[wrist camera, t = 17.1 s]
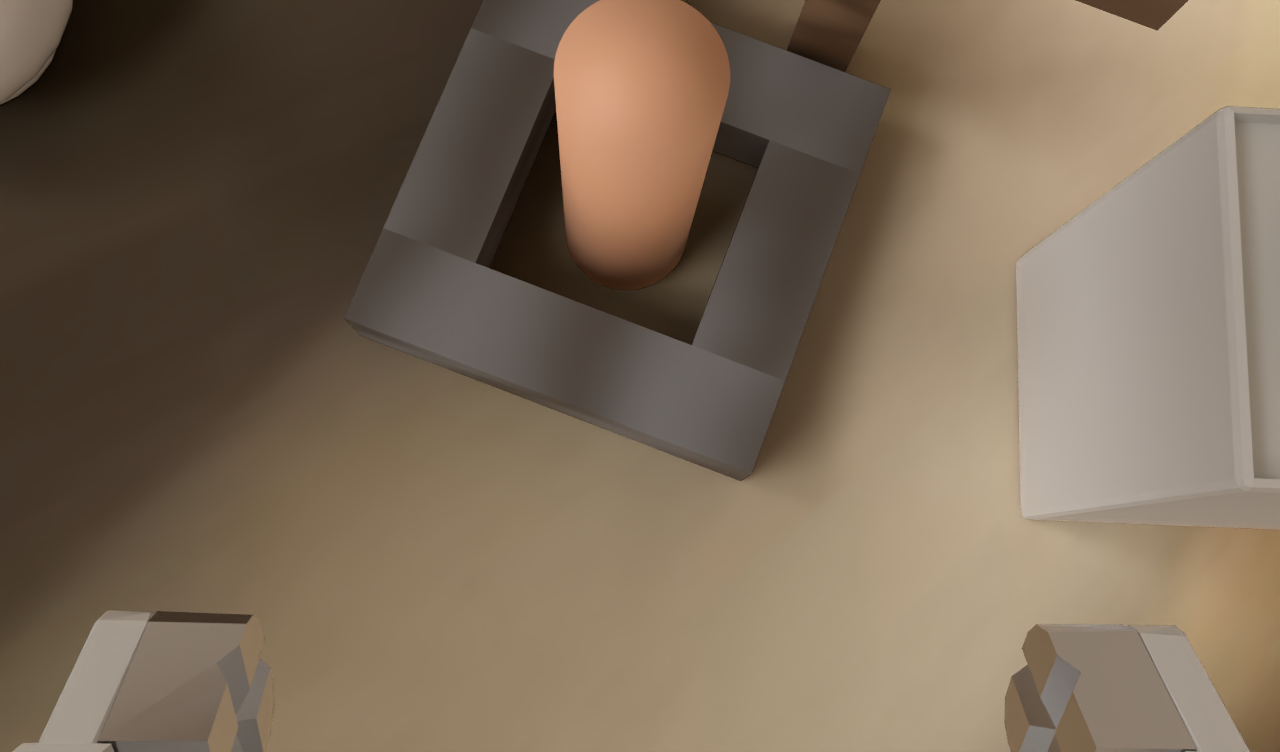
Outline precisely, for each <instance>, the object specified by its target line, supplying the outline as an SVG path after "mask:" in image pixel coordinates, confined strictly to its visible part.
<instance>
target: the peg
mask: <svg viewBox="0 0 1280 752" xmlns="http://www.w3.org/2000/svg"><path fill="white" fill-rule="evenodd" d="M554 87H555V100H556V113H557V126H558V139H559V152H560V165H561V178H562V191H563V204H564V217H565V230H566V240H567V245H568V248H569V251H570V254H571V256H572V257H573V259H574V261H575V263H576V264H577V265H578V267H579V268H580V269H581V270H582V271H583V272H584V273H585V274H586V275H587V276H589V277H590V278H591V279H593V280H594V281H596V282H598V283H600V284H602V285H604V286H607V287H610V288H615V289H621V290H632V289H639V288H644V287H647V286H650V285H652V284H654V283H656V282H658V281H660V280H661V279H663V278H664V277H666V276H667V275H668V274H669V273H670V272H671V271H672V270H673V269H674V268H675V266H676V265H677V264H678V262H679V260H680V259H681V257H682V254H683V252H684V249H685V246H686V243H687V239H688V235H689V232H690V228H691V225H692V221H693V218H694V214H695V211H696V207H697V203H698V200H699V196H700V193H701V189H702V186H703V182H704V179H705V175H706V172H707V168H708V164H709V161H710V157H711V154H712V150H713V147H714V143H715V140H716V136H717V132H718V129H719V125H720V122H721V118H722V115H723V111H724V108H725V104H726V101H727V97H728V93H729V87H730V65H729V59H728V55H727V51H726V49H725V46H724V44H723V41H722V39H721V38H720V36H719V34H718V32H717V31H716V29H715V28H714V27H713V26H712V24H711V23H710V22H709V21H708V20H707V19H706V18H705V17H704V16H703V15H702V14H701V13H700V12H699V11H697V10H696V9H695V8H693V7H692V6H690V5H688V4H687V3H685V2H683V1H681V0H600V1H598V2H596V3H594V4H593V5H591V6H590V7H588V8H586V9H585V10H584V11H583V12H582V13H581V14H579V15H578V16H577V17H576V18H575V20H574V21H573V22H572V23H571V24H570V25H569V27H568V28H567V30H566V31H565V33H564V35H563V37H562V39H561V41H560V43H559V46H558V49H557V52H556V56H555V61H554Z"/></svg>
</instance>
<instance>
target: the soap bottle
mask: <svg viewBox="0 0 1280 752" xmlns="http://www.w3.org/2000/svg"><path fill="white" fill-rule="evenodd" d="M1016 290H1017V342H1018V393H1019V444H1020V495H1021V513H1022V516H1023V517H1024V518H1026V519H1028V520H1048V521H1073V522H1098V523H1123V524H1148V525H1173V526H1197V527H1222V528H1247V529H1272V530H1280V109H1271V108H1252V107H1233V106H1228V107H1224V108H1221V109H1219V110H1218V111H1216V112H1215V113H1214V114H1212V115H1211V116H1210V117H1208V118H1207V119H1205V120H1204V121H1203V122H1201V123H1200V124H1199V125H1197V126H1196V127H1195V128H1193V129H1192V130H1191V131H1189V132H1188V133H1187V134H1185V135H1184V136H1183V137H1181V138H1180V139H1179V140H1177V141H1176V142H1175V143H1173V144H1172V145H1171V146H1169V147H1168V148H1167V149H1165V150H1164V151H1162V152H1161V153H1160V154H1158V155H1157V156H1156V157H1154V158H1153V159H1152V160H1150V161H1149V162H1148V163H1146V164H1145V165H1144V166H1142V167H1141V168H1140V169H1138V170H1137V171H1136V172H1134V173H1133V174H1132V175H1130V176H1129V177H1128V178H1126V179H1125V180H1124V181H1122V182H1121V183H1119V184H1118V185H1117V186H1115V187H1114V188H1113V189H1111V190H1110V191H1109V192H1107V193H1106V194H1105V195H1103V196H1102V197H1101V198H1099V199H1098V200H1097V201H1095V202H1094V203H1093V204H1091V205H1090V206H1089V207H1087V208H1086V209H1085V210H1083V211H1082V212H1081V213H1079V214H1078V215H1076V216H1075V217H1074V218H1072V219H1071V220H1070V221H1068V222H1067V223H1066V224H1064V225H1063V226H1062V227H1060V228H1059V229H1058V230H1056V231H1055V232H1054V233H1052V234H1051V235H1050V236H1048V237H1047V238H1046V239H1044V240H1043V241H1042V242H1040V243H1039V244H1037V245H1036V246H1035V247H1033V248H1032V249H1031V250H1029V251H1028V252H1027V253H1025V254H1024V255H1023V256H1021V257H1020V258H1019V259H1018V260H1017V263H1016Z"/></svg>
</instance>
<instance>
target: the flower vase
mask: <svg viewBox="0 0 1280 752" xmlns="http://www.w3.org/2000/svg"><path fill="white" fill-rule="evenodd" d="M72 4H73V0H0V105H1V104H3V103H5V102H7V101H9V100H11V99H13V98H15V97H17V96H19V95H20V94H21V93H23V92H24V91H25V90H26V89H28V88H29V87H30V86H31V85H33V84H34V83H35V82H36V81H37V80H38V79H39V78H40V76H41V75H42V74H43V72H44V71H45V70H46V68H47V67H48V66H49V64H50V63H51V62H52V60H53V57H54V55H55V52H56V49H57V47H58V45H59V43H60V40H61V38H62V35H63V33H64V30H65V28H66V25H67V23H68V20H69V18H70V15H71V13H72Z"/></svg>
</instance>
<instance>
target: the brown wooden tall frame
mask: <svg viewBox="0 0 1280 752" xmlns="http://www.w3.org/2000/svg"><path fill="white" fill-rule="evenodd" d="M598 1H600V0H483V2H482V4H481V6H480V9H479V11H478V13H477V15H476V18H475V20H474V22H473V25H472V27H471V29H470V31H469V34H468V36H467V38H466V41H465V43H464V45H463V47H462V50H461V52H460V54H459V57H458V59H457V61H456V63H455V66H454V68H453V70H452V72H451V75H450V77H449V79H448V82H447V84H446V86H445V88H444V91H443V93H442V95H441V98H440V100H439V102H438V104H437V107H436V109H435V111H434V113H433V116H432V118H431V120H430V123H429V125H428V127H427V129H426V132H425V134H424V136H423V139H422V141H421V143H420V145H419V148H418V150H417V152H416V154H415V157H414V159H413V161H412V164H411V166H410V168H409V170H408V173H407V175H406V177H405V180H404V182H403V184H402V186H401V189H400V191H399V193H398V195H397V198H396V200H395V202H394V205H393V207H392V209H391V211H390V214H389V216H388V218H387V221H386V223H385V225H384V227H383V230H382V232H381V234H380V236H379V239H378V241H377V243H376V246H375V248H374V250H373V252H372V255H371V257H370V259H369V262H368V264H367V266H366V268H365V271H364V273H363V275H362V278H361V280H360V282H359V284H358V287H357V289H356V291H355V293H354V296H353V298H352V300H351V303H350V305H349V307H348V309H347V312H346V314H345V316H344V319H345V320H346V321H347V322H348V323H349V324H350V325H351V326H352V327H353V328H354V329H355V330H356V331H357V332H358V333H359V334H360V335H361V336H363V337H366V338H369V339H371V340H374V341H376V342H379V343H382V344H384V345H387V346H390V347H392V348H395V349H397V350H400V351H403V352H405V353H408V354H410V355H413V356H416V357H418V358H421V359H424V360H426V361H429V362H431V363H434V364H437V365H439V366H442V367H444V368H447V369H450V370H452V371H455V372H457V373H460V374H463V375H465V376H468V377H471V378H473V379H476V380H478V381H481V382H484V383H486V384H489V385H491V386H494V387H497V388H499V389H502V390H505V391H507V392H510V393H512V394H515V395H518V396H520V397H523V398H525V399H528V400H531V401H533V402H536V403H538V404H541V405H544V406H546V407H549V408H552V409H554V410H557V411H559V412H562V413H565V414H567V415H570V416H572V417H575V418H578V419H580V420H583V421H586V422H588V423H591V424H593V425H596V426H599V427H601V428H604V429H606V430H609V431H612V432H614V433H617V434H619V435H622V436H625V437H627V438H630V439H633V440H635V441H638V442H640V443H643V444H646V445H648V446H651V447H653V448H656V449H659V450H661V451H664V452H667V453H669V454H672V455H674V456H677V457H680V458H682V459H685V460H687V461H690V462H693V463H695V464H698V465H700V466H703V467H706V468H708V469H711V470H714V471H716V472H719V473H721V474H724V475H727V476H729V477H732V478H734V479H737V480H740V481H741V480H743V479H745V478H746V477H748V476H749V475H751V474H752V471H753V469H754V466H755V463H756V460H757V457H758V455H759V452H760V449H761V446H762V444H763V441H764V438H765V435H766V433H767V430H768V427H769V424H770V422H771V419H772V416H773V413H774V410H775V408H776V405H777V402H778V399H779V397H780V394H781V391H782V388H783V386H784V383H785V380H786V377H787V375H788V372H789V369H790V366H791V364H792V361H793V358H794V355H795V352H796V350H797V347H798V344H799V341H800V339H801V336H802V333H803V330H804V328H805V325H806V322H807V319H808V317H809V314H810V311H811V308H812V305H813V303H814V300H815V297H816V294H817V292H818V289H819V286H820V283H821V281H822V278H823V275H824V272H825V270H826V267H827V264H828V261H829V258H830V256H831V253H832V250H833V247H834V245H835V242H836V239H837V236H838V234H839V231H840V228H841V225H842V223H843V220H844V217H845V214H846V211H847V209H848V206H849V203H850V200H851V198H852V195H853V192H854V189H855V187H856V184H857V181H858V178H859V176H860V173H861V170H862V167H863V165H864V162H865V159H866V156H867V153H868V151H869V148H870V145H871V142H872V140H873V137H874V134H875V131H876V129H877V126H878V123H879V120H880V118H881V115H882V112H883V109H884V106H885V104H886V101H887V98H888V95H889V93H890V90H891V89H888V88H885V87H883V86H880V85H877V84H875V83H872V82H869V81H867V80H864V79H861V78H859V77H856V76H853V75H851V74H848V73H845V70H846V68H847V66H848V64H849V62H850V60H851V58H852V56H853V54H854V52H855V50H856V48H857V46H858V44H859V42H860V40H861V38H862V36H863V34H864V32H865V30H866V28H867V26H868V24H869V22H870V20H871V18H872V16H873V14H874V12H875V10H876V8H877V6H878V4H879V2H880V0H805V3H804V6H803V8H802V11H801V14H800V17H799V19H798V22H797V25H796V27H795V30H794V33H793V35H792V38H791V41H790V44H789V46H788V49H787V51H786V50H784V49H781V48H778V47H776V46H773V45H770V44H767V43H765V42H762V41H759V40H757V39H754V38H751V37H749V36H746V35H743V34H741V33H738V32H735V31H733V30H730V29H727V28H725V27H722V26H719V25H717V24H714V23H711V22H710V23H711V24H712V26H713V27H714V28H715V29H716V31H717V32H718V34H719V36H720V38H721V39H722V41H723V44H724V46H725V49H726V51H727V55H728V59H729V65H730V87H729V93H728V97H727V101H726V104H725V108H724V111H723V115H722V118H721V122H720V125H719V129H718V132H717V136H716V140H715V143H714V147H713V150H712V151H715V152H717V153H720V154H723V155H725V156H728V157H731V158H733V159H736V160H739V161H741V162H744V163H746V164H749V165H752V166H754V167H757V168H758V170H757V173H756V175H755V178H754V181H753V183H752V186H751V189H750V191H749V194H748V197H747V199H746V202H745V204H744V207H743V210H742V212H741V215H740V218H739V220H738V223H737V226H736V228H735V231H734V233H733V236H732V239H731V241H730V244H729V247H728V249H727V252H726V255H725V257H724V260H723V262H722V265H721V268H720V270H719V273H718V276H717V278H716V281H715V284H714V286H713V289H712V291H711V294H710V297H709V299H708V302H707V305H706V307H705V310H704V313H703V315H702V318H701V320H700V323H699V326H698V328H697V331H696V334H695V336H694V339H693V342H692V344H691V345H690V344H687V343H684V342H682V341H679V340H677V339H674V338H671V337H669V336H666V335H663V334H661V333H658V332H655V331H653V330H650V329H648V328H645V327H642V326H640V325H637V324H634V323H632V322H629V321H627V320H624V319H621V318H619V317H616V316H613V315H611V314H608V313H605V312H603V311H600V310H598V309H595V308H592V307H590V306H587V305H584V304H582V303H579V302H577V301H574V300H571V299H569V298H566V297H563V296H561V295H558V294H556V293H553V292H550V291H548V290H545V289H542V288H540V287H537V286H534V285H532V284H529V283H527V282H524V281H521V280H519V279H516V278H513V277H511V276H508V275H506V274H503V273H500V272H498V271H495V270H492V269H490V266H491V264H492V261H493V259H494V256H495V254H496V252H497V249H498V247H499V244H500V242H501V240H502V237H503V235H504V232H505V230H506V228H507V225H508V223H509V221H510V218H511V216H512V213H513V211H514V209H515V206H516V204H517V201H518V199H519V197H520V194H521V192H522V189H523V187H524V185H525V182H526V180H527V177H528V175H529V173H530V170H531V168H532V166H533V163H534V161H535V158H536V156H537V154H538V151H539V149H540V146H541V144H542V142H543V139H544V137H545V134H546V132H547V130H548V127H549V125H550V122H551V120H552V118H553V115H554V113H555V111H556V100H555V87H554V61H555V56H556V52H557V49H558V46H559V43H560V41H561V39H562V37H563V35H564V33H565V31H566V30H567V28H568V27H569V25H570V24H571V23H572V22H573V21H574V20H575V18H576V17H577V16H578V15H579V14H581V13H582V12H583V11H584V10H585V9H586V8H588V7H590V6H591V5H593V4H594V3H596V2H598ZM1076 1H1079V2H1082V3H1084V4H1087V5H1090V6H1092V7H1095V8H1098V9H1101V10H1103V11H1106V12H1109V13H1111V14H1114V15H1117V16H1119V17H1122V18H1125V19H1128V20H1130V21H1133V22H1136V23H1138V24H1141V25H1144V26H1147V27H1149V28H1152V29H1155V30H1158V29H1159V28H1160V27H1161V26H1162V25H1163V24H1164V23H1166V22H1167V21H1168V20H1169V19H1170V18H1171V17H1172V16H1173V15H1174V14H1175V13H1176V12H1177V11H1178V10H1179V9H1180V8H1181V7H1182V6H1183V5H1184V4H1185V3H1186V2H1187V1H1188V0H1076Z"/></svg>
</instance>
